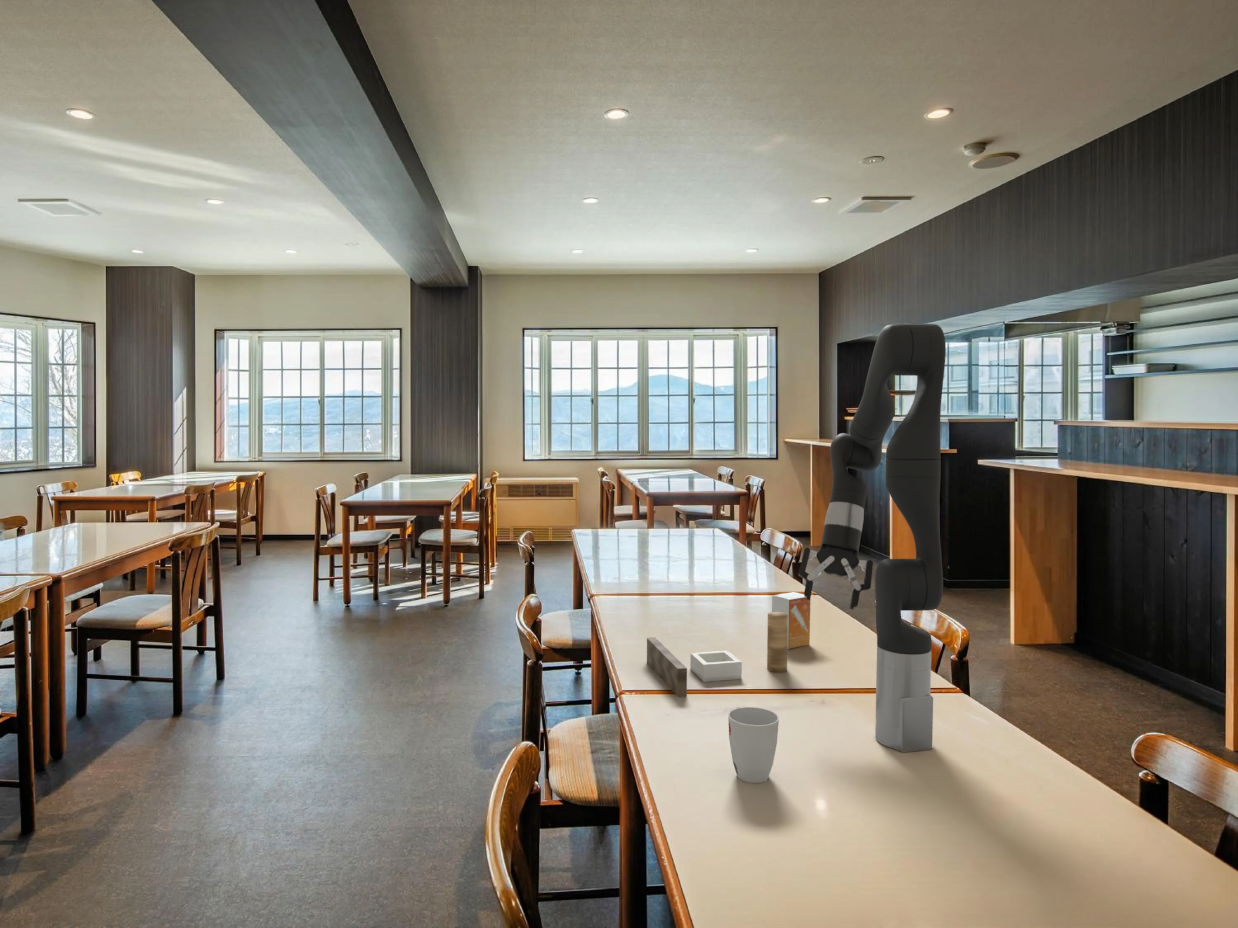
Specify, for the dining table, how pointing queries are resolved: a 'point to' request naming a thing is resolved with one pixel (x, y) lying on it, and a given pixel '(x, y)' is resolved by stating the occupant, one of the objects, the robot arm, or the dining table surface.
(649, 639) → the board
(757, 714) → the cup
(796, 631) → the small box
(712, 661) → the white square tray
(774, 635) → the oak dowel
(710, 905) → the dining table surface
